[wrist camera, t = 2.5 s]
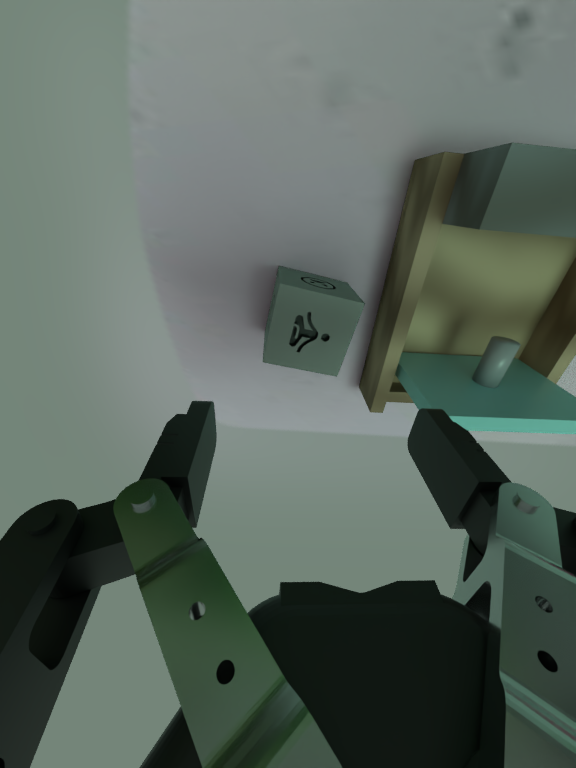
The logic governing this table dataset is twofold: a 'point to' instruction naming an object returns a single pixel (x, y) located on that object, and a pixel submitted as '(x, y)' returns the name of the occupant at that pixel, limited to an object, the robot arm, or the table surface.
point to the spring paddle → (488, 390)
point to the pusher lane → (480, 264)
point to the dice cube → (310, 322)
